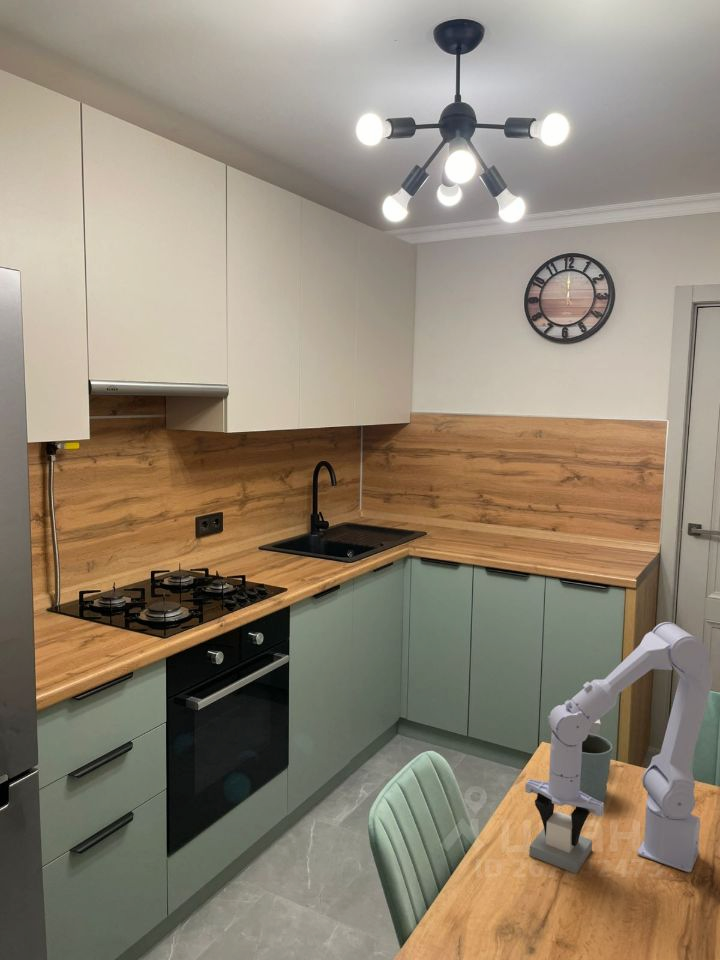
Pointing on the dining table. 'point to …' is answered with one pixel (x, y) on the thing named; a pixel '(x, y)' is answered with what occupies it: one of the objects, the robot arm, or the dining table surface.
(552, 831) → the cream colored cube
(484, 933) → the dining table surface
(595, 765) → the teal cup
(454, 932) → the dining table surface
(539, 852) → the stud block
